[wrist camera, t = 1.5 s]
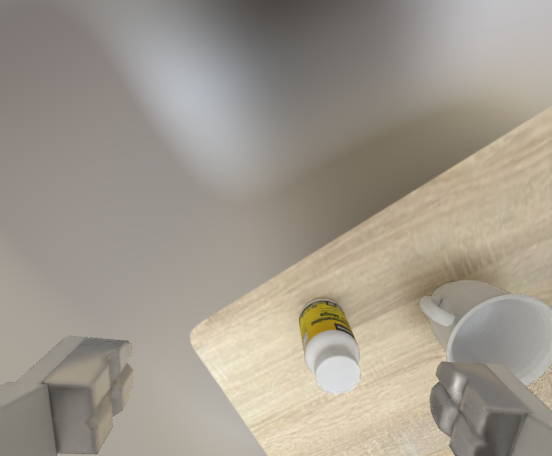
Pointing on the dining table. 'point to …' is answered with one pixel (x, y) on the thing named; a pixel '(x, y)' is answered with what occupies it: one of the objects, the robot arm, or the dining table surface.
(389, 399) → the dining table surface
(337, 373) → the pill bottle
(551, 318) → the teacup
